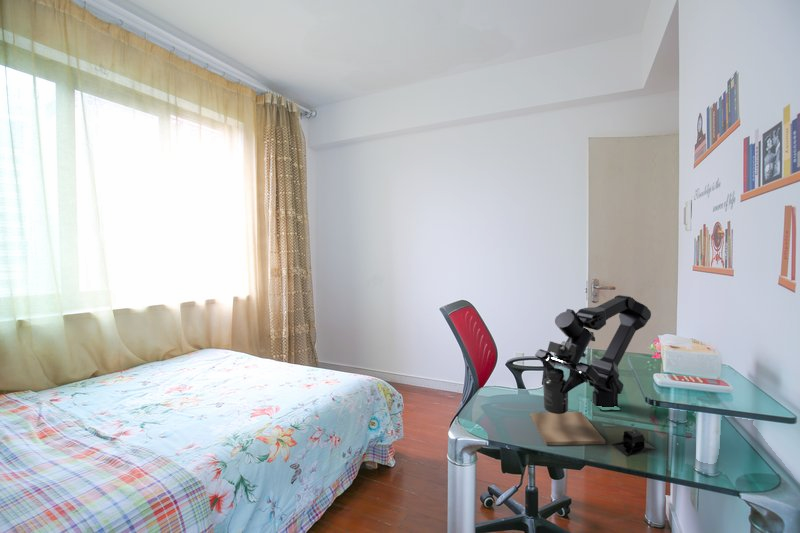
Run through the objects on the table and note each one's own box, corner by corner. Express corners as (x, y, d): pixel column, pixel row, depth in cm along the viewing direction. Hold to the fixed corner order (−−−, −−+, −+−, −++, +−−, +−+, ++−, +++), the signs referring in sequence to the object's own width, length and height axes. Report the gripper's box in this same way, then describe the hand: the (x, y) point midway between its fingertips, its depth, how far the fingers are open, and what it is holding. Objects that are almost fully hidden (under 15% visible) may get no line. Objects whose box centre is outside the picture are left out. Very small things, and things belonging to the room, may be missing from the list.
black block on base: (641, 437, 106) (641, 422, 106) (664, 452, 99) (665, 436, 99) (604, 446, 104) (604, 430, 103) (625, 461, 96) (625, 445, 96)
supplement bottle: (571, 414, 108) (570, 375, 106) (547, 414, 109) (545, 375, 107) (564, 403, 115) (563, 366, 113) (541, 403, 116) (540, 366, 114)
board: (581, 414, 119) (581, 411, 119) (605, 443, 103) (605, 440, 103) (530, 416, 121) (530, 413, 120) (546, 445, 105) (546, 441, 105)
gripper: (537, 324, 119) (514, 366, 115) (591, 338, 102) (566, 387, 99) (555, 342, 123) (533, 383, 120) (609, 358, 107) (585, 406, 103)
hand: (552, 389), depth 110 cm, fingers closed on supplement bottle, 7 cm apart
